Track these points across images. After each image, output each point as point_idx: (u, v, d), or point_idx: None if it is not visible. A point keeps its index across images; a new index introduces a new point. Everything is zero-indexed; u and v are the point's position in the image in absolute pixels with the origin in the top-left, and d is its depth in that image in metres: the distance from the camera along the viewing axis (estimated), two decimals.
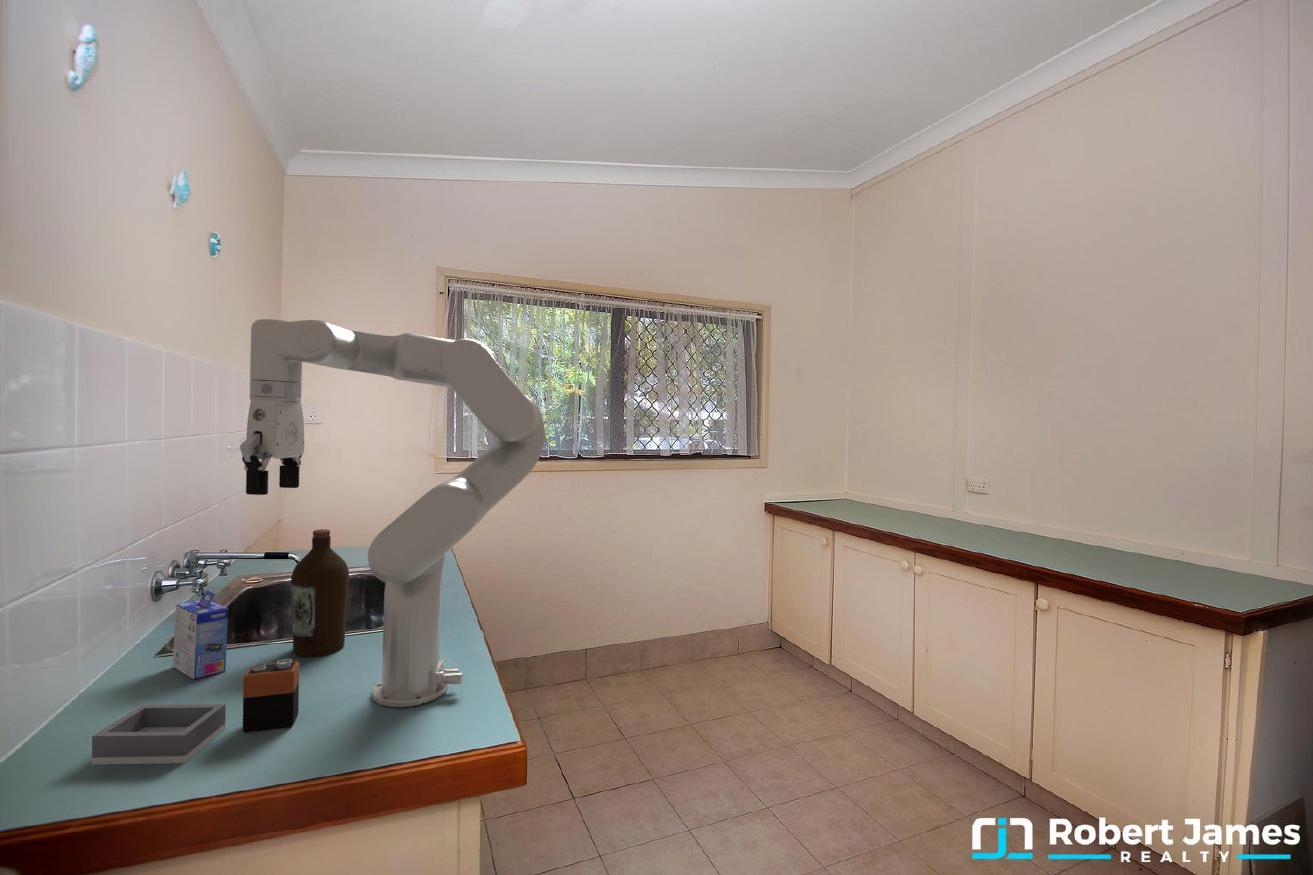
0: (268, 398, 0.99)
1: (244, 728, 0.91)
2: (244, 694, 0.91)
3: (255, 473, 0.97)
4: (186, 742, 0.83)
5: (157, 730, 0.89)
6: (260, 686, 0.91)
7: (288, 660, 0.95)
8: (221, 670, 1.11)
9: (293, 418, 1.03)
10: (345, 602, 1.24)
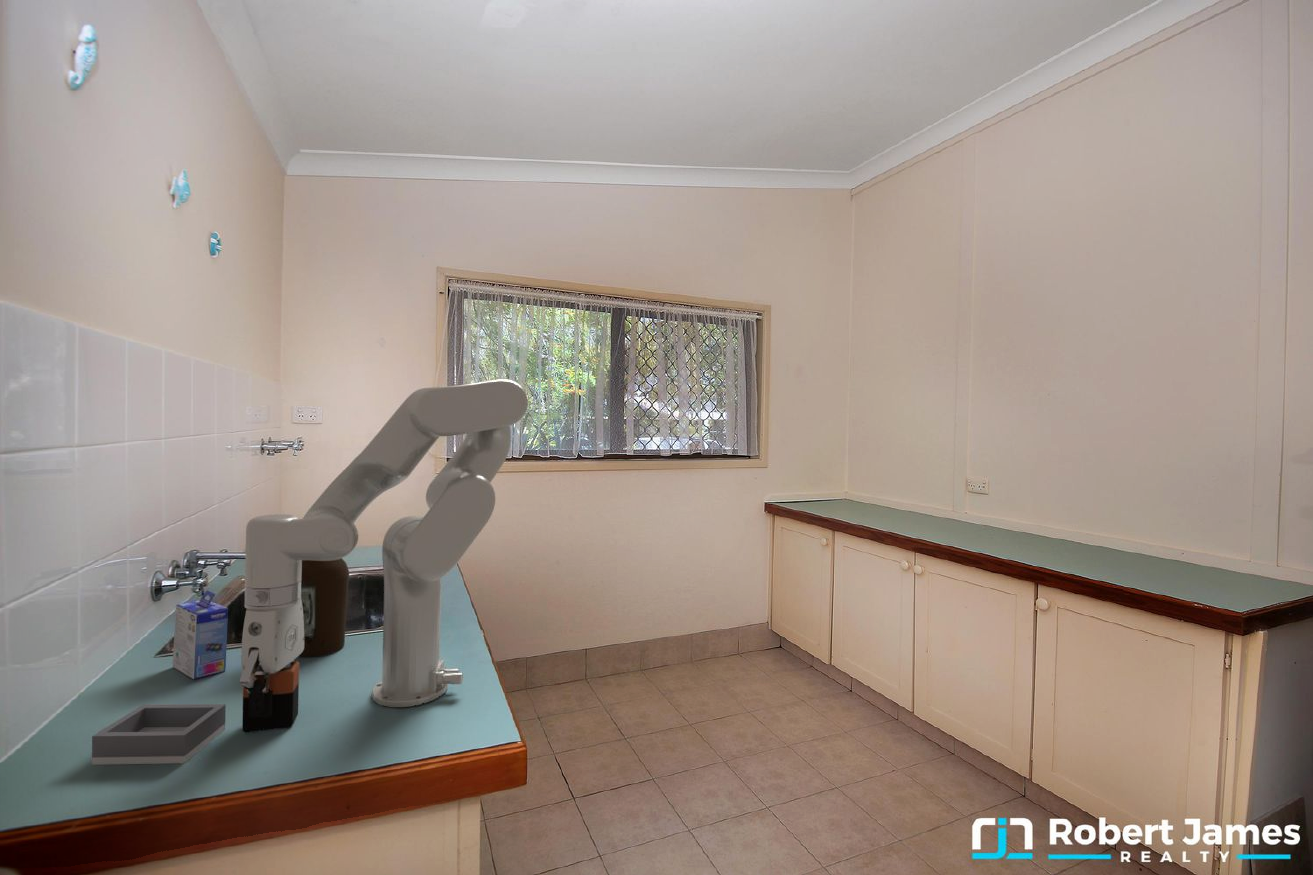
0: (265, 608, 0.90)
1: (244, 728, 0.91)
2: (243, 694, 0.91)
3: (259, 695, 0.90)
4: (186, 742, 0.83)
5: (157, 730, 0.89)
6: None
7: None
8: (221, 670, 1.11)
9: (292, 620, 0.94)
10: (345, 602, 1.24)
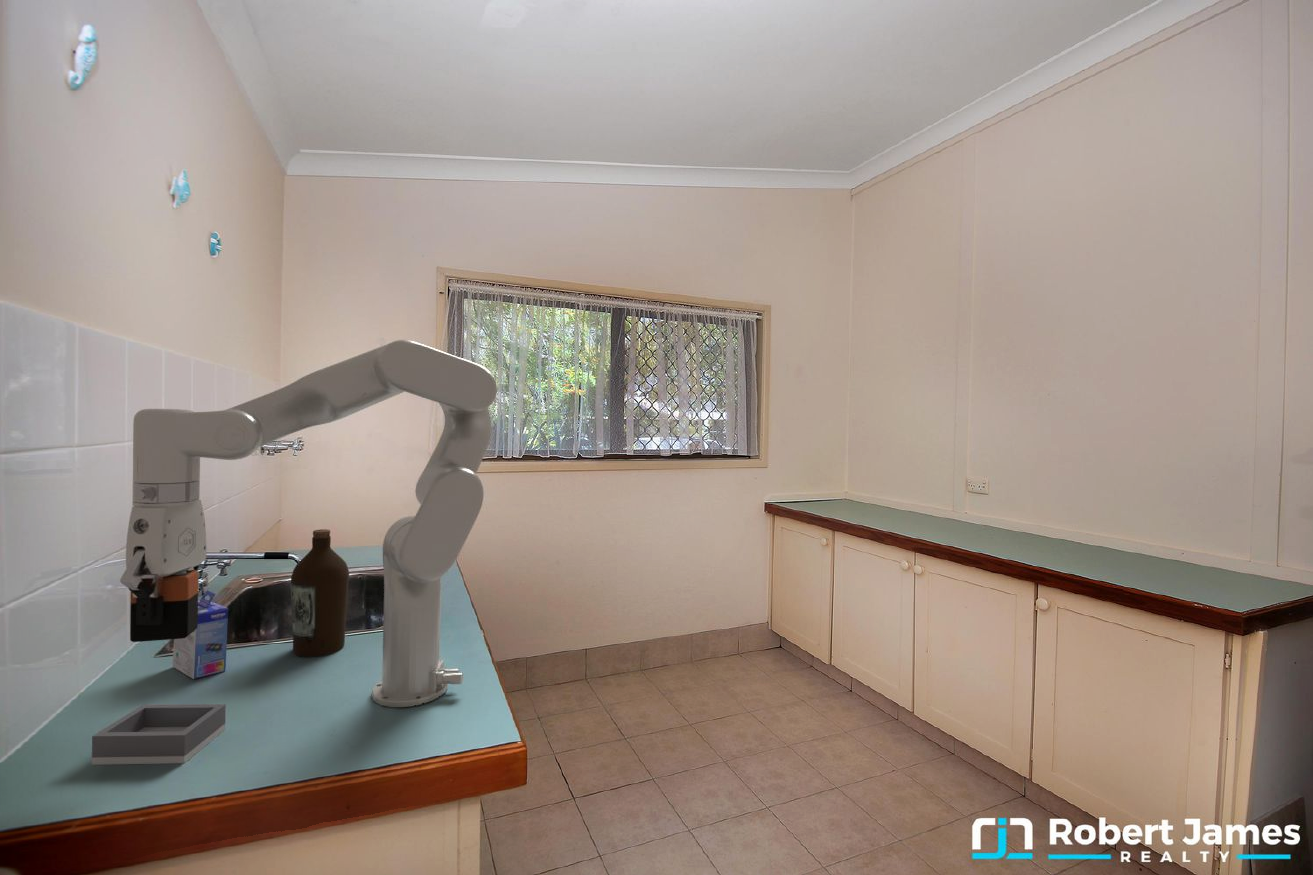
0: (153, 505, 0.82)
1: (131, 637, 0.83)
2: (131, 600, 0.83)
3: (146, 600, 0.82)
4: (186, 742, 0.83)
5: (157, 730, 0.89)
6: None
7: None
8: (221, 670, 1.11)
9: (188, 523, 0.86)
10: (345, 602, 1.24)
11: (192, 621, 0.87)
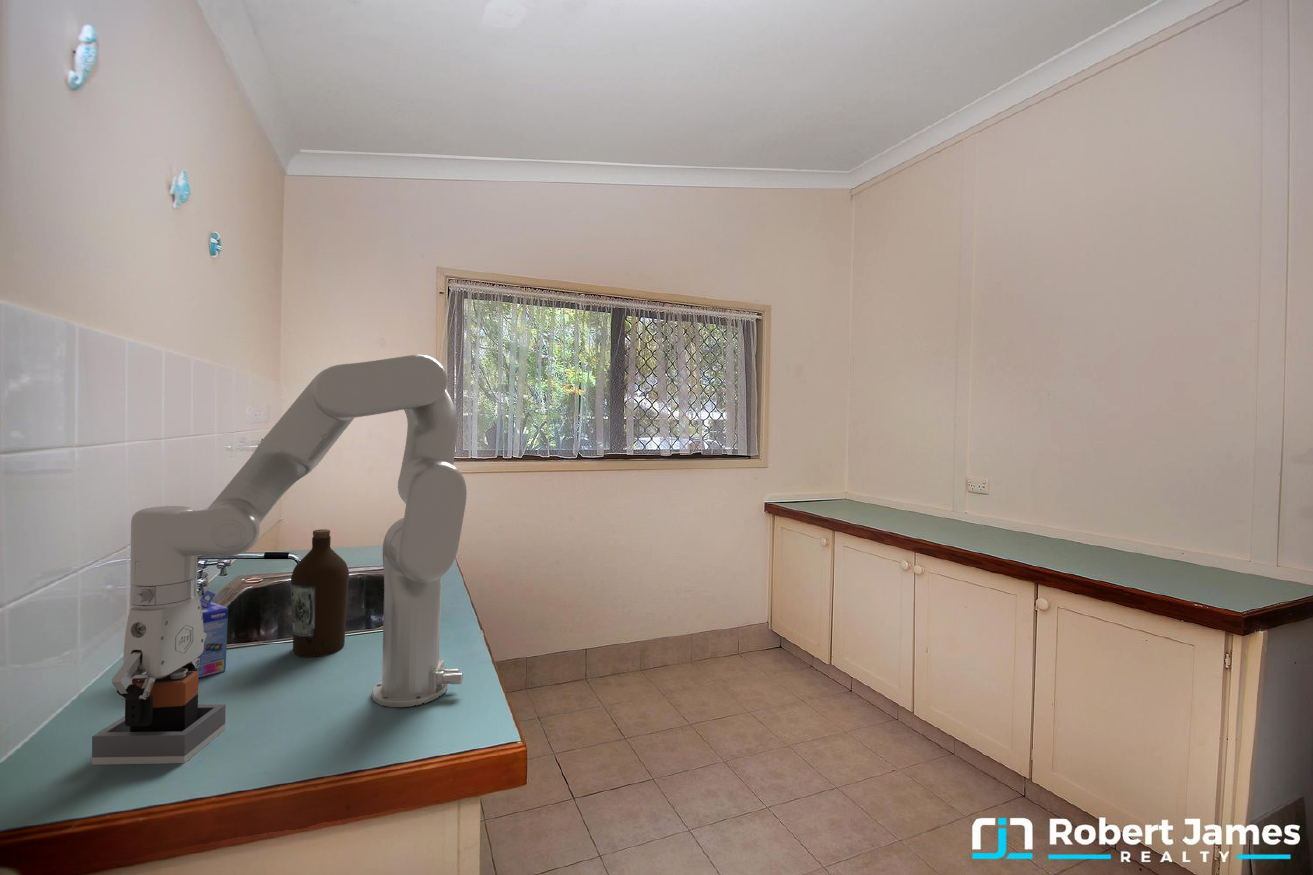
0: (151, 607, 0.83)
1: None
2: None
3: (135, 702, 0.81)
4: (186, 742, 0.83)
5: None
6: None
7: (184, 669, 0.88)
8: (221, 670, 1.11)
9: (186, 620, 0.87)
10: (345, 602, 1.24)
11: (190, 724, 0.87)
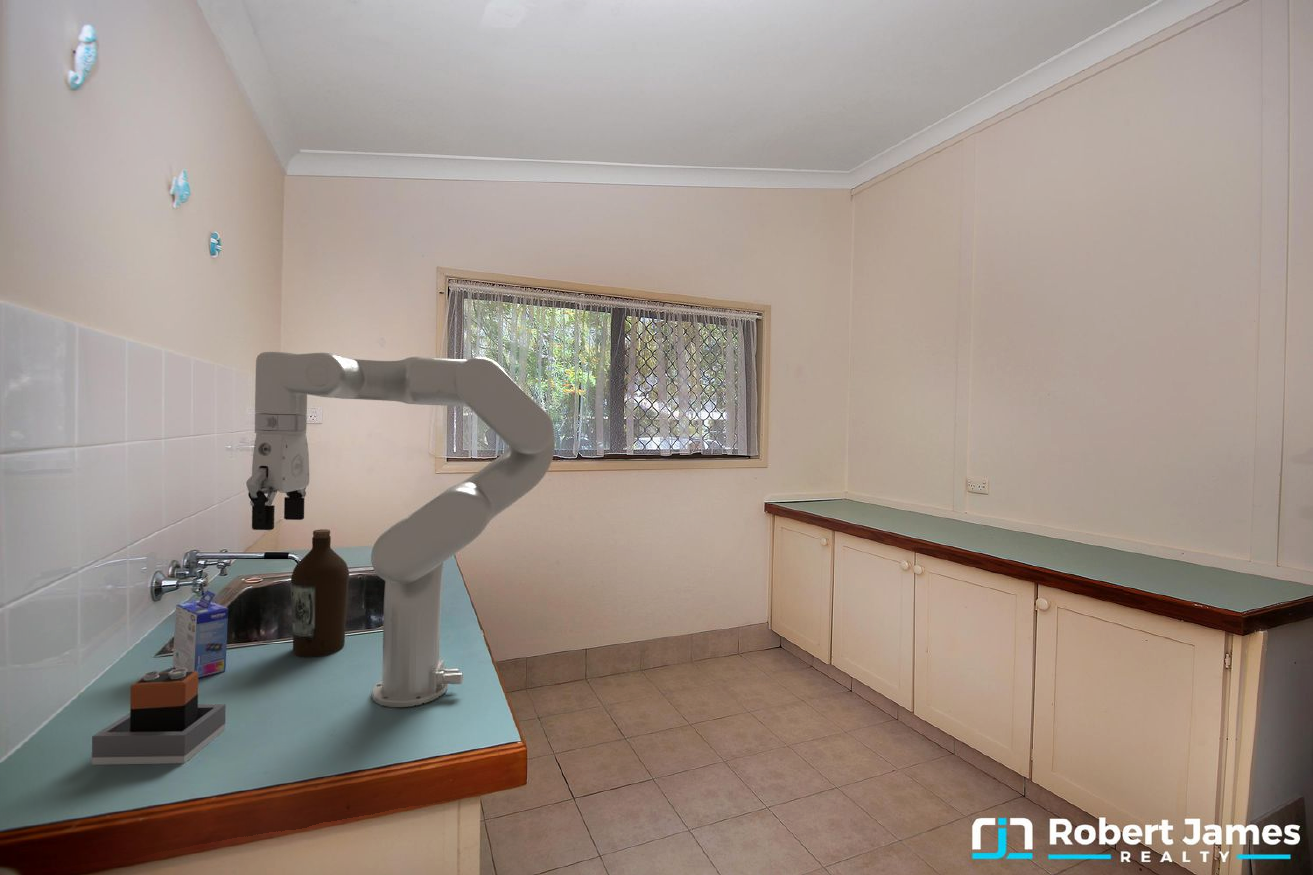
0: (274, 432, 0.98)
1: None
2: (130, 705, 0.84)
3: (261, 508, 0.96)
4: (186, 742, 0.83)
5: None
6: (148, 698, 0.84)
7: (184, 669, 0.88)
8: (221, 670, 1.11)
9: (298, 451, 1.02)
10: (345, 602, 1.24)
11: (190, 724, 0.87)
